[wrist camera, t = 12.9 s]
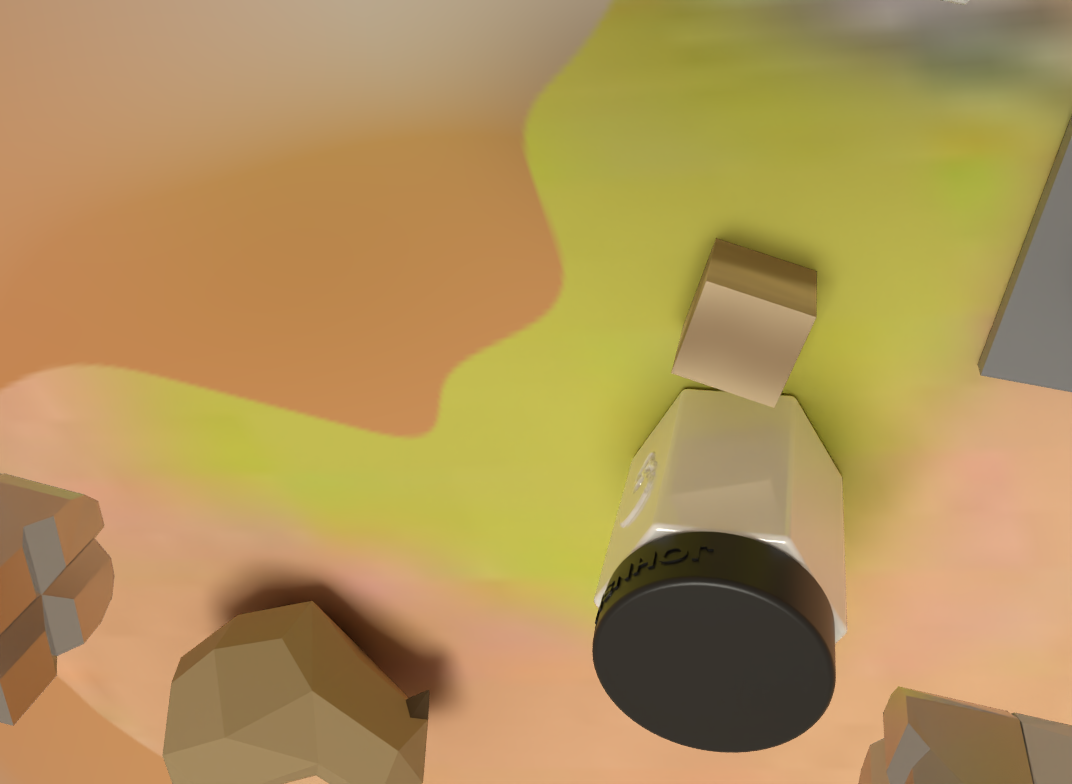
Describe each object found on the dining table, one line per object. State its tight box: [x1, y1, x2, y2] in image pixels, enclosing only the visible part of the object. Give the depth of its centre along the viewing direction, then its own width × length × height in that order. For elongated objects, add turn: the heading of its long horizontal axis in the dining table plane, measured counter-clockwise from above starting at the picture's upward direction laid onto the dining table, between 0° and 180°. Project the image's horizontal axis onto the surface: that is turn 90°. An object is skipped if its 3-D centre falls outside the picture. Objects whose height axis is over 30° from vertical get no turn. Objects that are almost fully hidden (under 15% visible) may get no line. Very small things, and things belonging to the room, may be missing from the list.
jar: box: [592, 389, 847, 753], centre depth 38 cm, size 9×8×12 cm
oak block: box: [671, 238, 817, 408], centre depth 37 cm, size 4×4×4 cm
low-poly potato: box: [163, 601, 429, 784], centre depth 52 cm, size 15×11×12 cm
